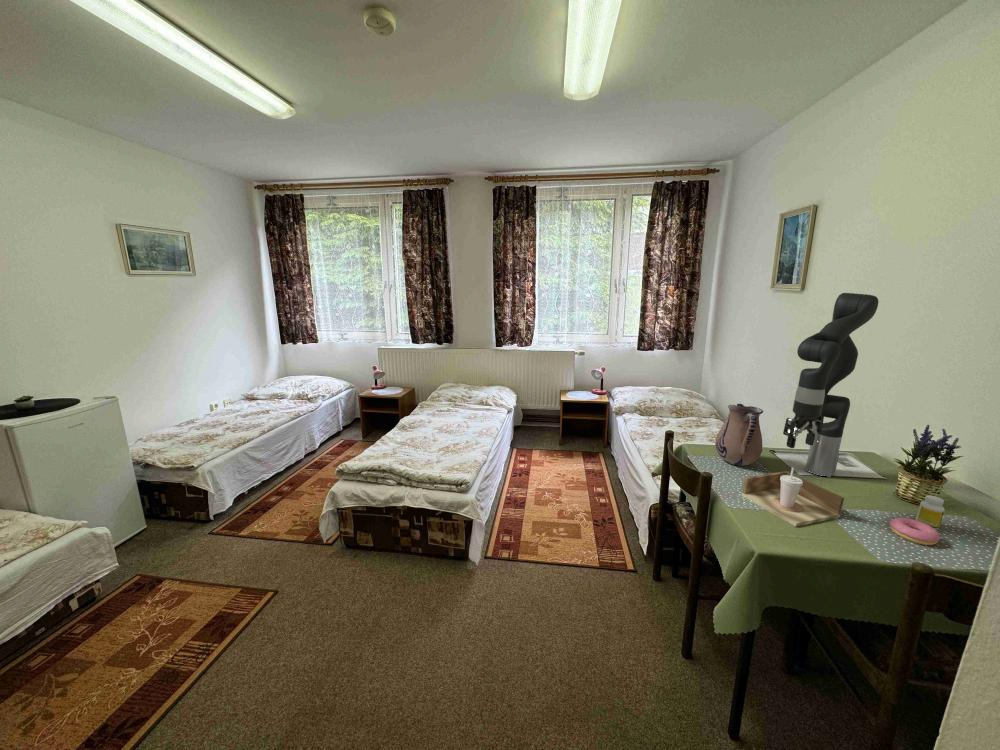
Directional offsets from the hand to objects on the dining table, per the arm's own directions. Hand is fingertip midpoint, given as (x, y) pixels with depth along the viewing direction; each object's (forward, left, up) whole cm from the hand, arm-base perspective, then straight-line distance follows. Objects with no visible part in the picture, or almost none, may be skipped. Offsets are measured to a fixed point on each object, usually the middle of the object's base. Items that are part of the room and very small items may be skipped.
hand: (799, 445), depth 133 cm
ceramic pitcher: (-12, -32, -23) cm, 41 cm away
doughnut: (-21, +24, -23) cm, 39 cm away
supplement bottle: (-33, +21, -23) cm, 45 cm away
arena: (0, 0, -22) cm, 22 cm away
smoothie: (+3, +1, -21) cm, 21 cm away
